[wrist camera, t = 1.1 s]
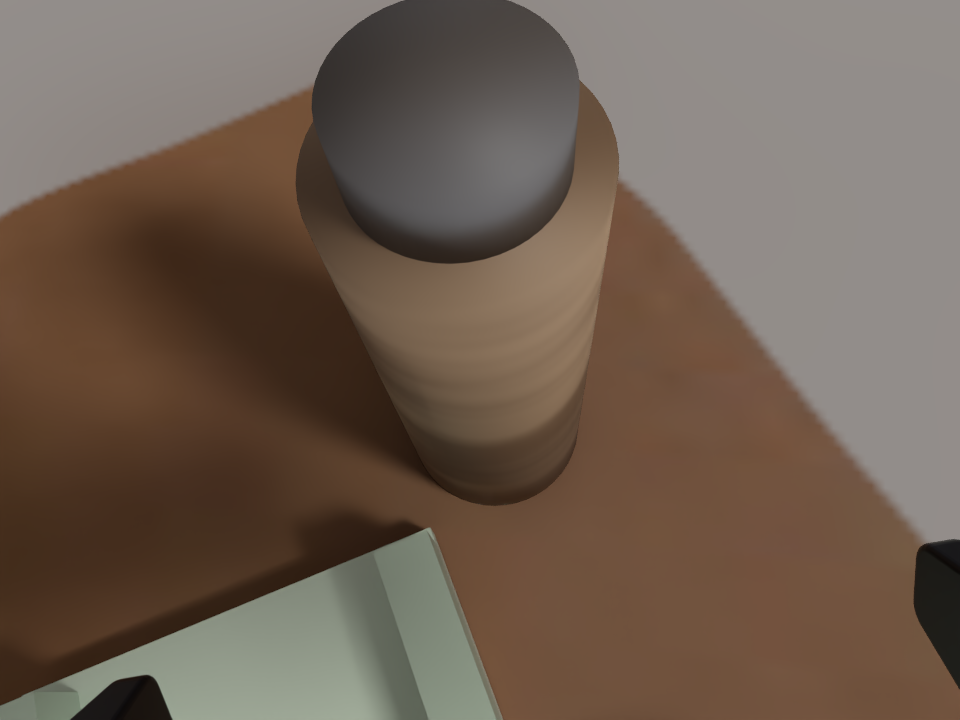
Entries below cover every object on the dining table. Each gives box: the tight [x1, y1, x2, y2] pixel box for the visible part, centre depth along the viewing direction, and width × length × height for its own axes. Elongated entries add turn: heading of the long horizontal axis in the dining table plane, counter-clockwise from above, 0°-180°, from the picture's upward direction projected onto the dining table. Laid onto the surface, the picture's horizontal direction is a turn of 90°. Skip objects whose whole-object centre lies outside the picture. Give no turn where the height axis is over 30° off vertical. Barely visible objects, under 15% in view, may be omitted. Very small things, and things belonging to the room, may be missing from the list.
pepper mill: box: [296, 0, 619, 506], centre depth 17 cm, size 5×5×15 cm
